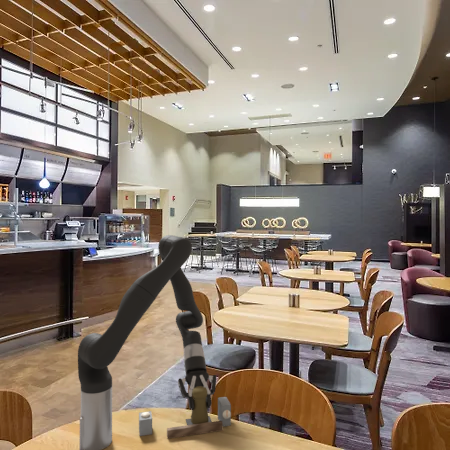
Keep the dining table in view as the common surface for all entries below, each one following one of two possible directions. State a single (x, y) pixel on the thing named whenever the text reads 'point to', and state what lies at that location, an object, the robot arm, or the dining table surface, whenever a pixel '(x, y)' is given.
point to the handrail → (194, 429)
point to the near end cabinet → (145, 423)
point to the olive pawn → (199, 405)
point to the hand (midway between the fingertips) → (200, 408)
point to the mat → (192, 423)
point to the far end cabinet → (224, 411)
